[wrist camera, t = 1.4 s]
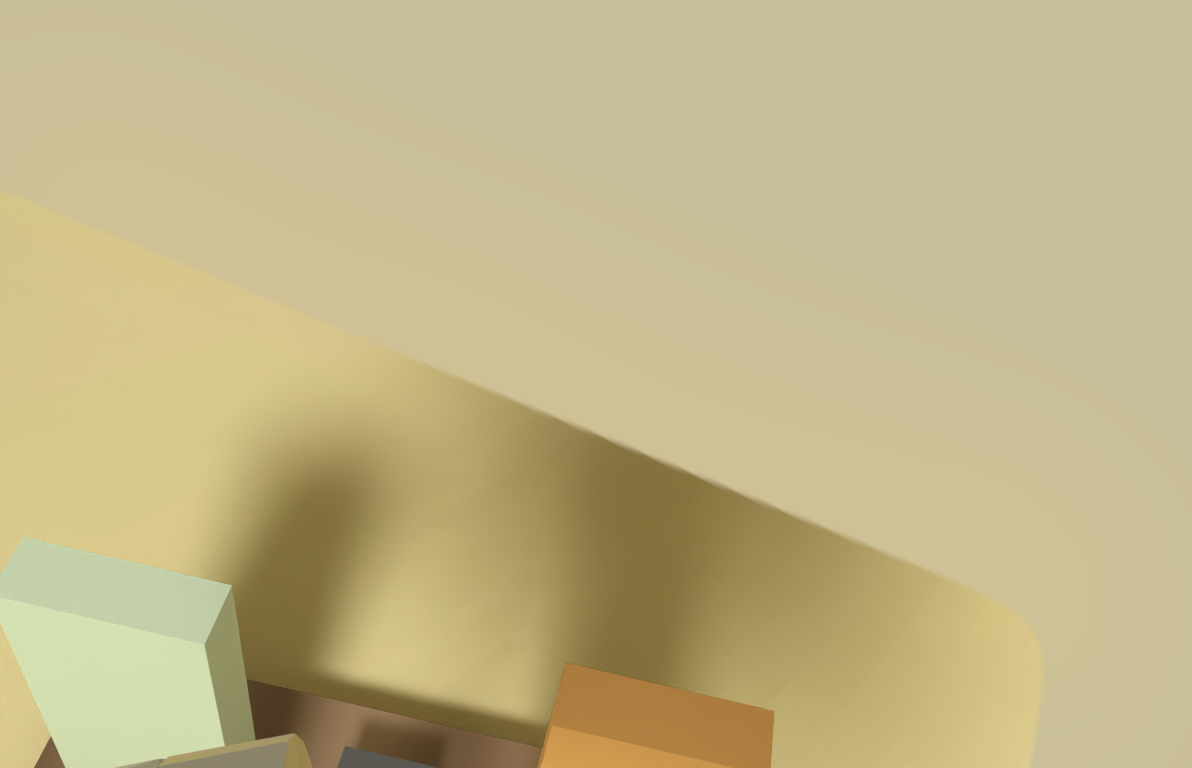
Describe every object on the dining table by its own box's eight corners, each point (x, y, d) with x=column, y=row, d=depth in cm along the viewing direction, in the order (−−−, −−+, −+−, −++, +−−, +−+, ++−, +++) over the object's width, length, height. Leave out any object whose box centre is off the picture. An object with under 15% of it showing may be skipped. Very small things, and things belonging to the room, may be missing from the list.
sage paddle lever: (86, 822, 35) (-17, 593, 26) (110, 773, 36) (19, 536, 27) (250, 860, 35) (208, 646, 25) (269, 810, 36) (236, 585, 27)
